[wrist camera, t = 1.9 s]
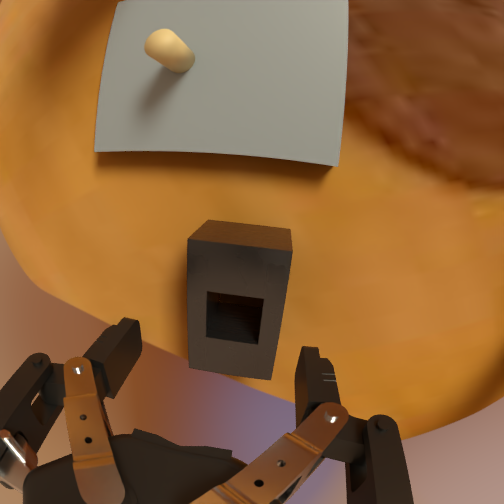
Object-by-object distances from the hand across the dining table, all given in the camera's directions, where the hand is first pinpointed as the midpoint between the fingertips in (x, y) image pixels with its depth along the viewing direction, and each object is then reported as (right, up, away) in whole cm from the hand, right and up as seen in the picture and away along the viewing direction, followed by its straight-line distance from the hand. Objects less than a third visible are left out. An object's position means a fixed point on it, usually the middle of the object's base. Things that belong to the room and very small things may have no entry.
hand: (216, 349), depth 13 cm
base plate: (-1, +17, +3) cm, 17 cm away
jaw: (+1, +2, +7) cm, 8 cm away
